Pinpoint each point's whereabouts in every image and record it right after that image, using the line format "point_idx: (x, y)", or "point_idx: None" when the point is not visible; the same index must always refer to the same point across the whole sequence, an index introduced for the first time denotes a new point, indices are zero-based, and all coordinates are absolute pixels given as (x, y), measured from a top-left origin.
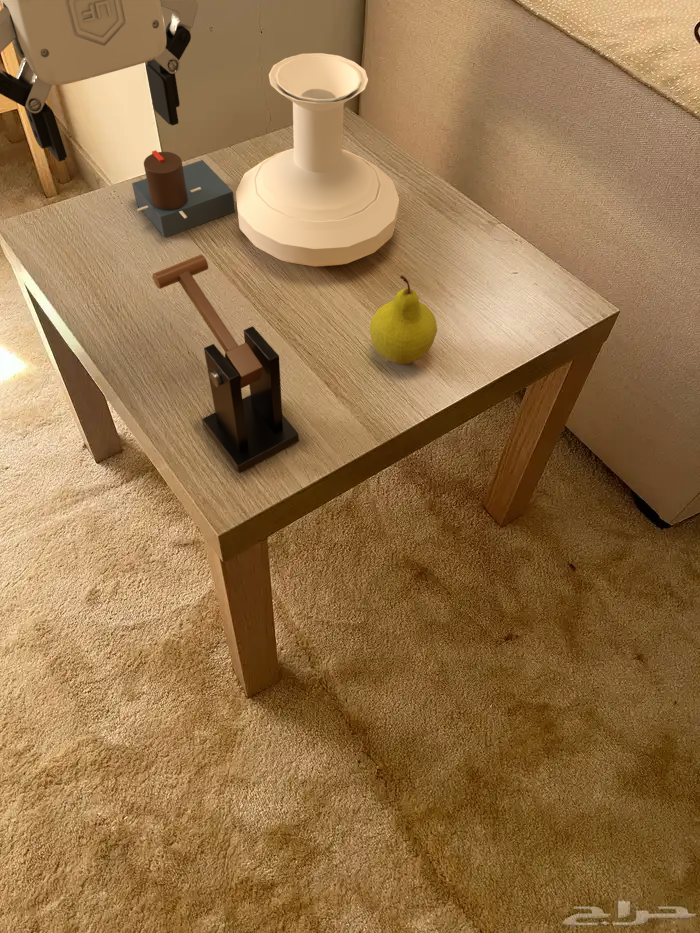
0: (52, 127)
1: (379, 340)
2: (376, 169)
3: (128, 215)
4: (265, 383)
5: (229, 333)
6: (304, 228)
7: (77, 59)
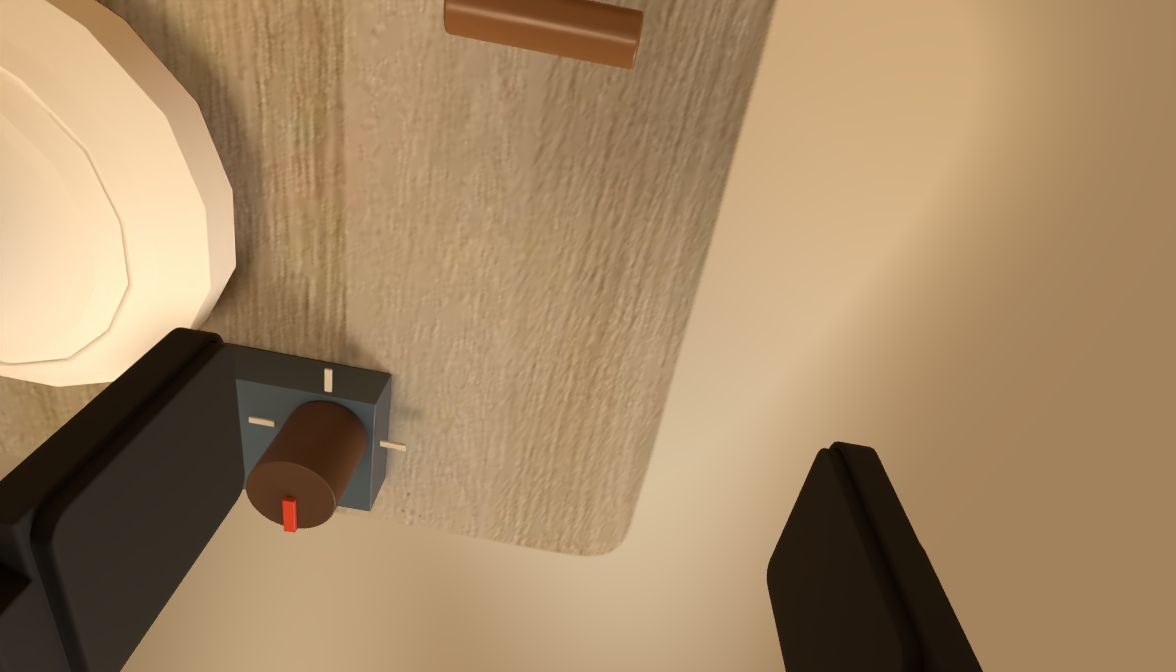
0: (918, 583)
1: None
2: None
3: (416, 463)
4: None
5: None
6: (67, 91)
7: None
